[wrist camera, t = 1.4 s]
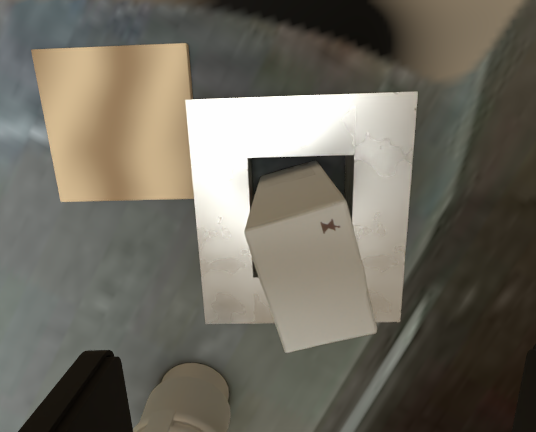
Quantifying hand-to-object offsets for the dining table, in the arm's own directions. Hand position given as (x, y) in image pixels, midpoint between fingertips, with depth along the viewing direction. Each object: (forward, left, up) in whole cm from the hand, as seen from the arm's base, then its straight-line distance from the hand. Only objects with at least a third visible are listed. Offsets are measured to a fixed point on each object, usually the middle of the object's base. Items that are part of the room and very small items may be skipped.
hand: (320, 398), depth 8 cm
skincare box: (0, 0, -18) cm, 18 cm away
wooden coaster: (+12, -6, -18) cm, 22 cm away
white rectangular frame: (0, 0, -18) cm, 18 cm away
